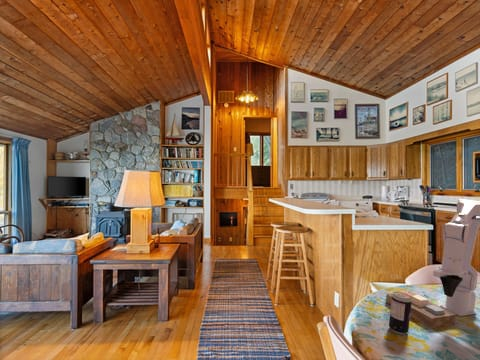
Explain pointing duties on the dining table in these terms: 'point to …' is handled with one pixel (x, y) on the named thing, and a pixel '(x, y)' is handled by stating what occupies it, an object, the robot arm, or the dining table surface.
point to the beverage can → (400, 312)
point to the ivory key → (419, 300)
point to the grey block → (434, 310)
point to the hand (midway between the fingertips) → (448, 295)
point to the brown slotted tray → (428, 315)
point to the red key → (407, 293)
